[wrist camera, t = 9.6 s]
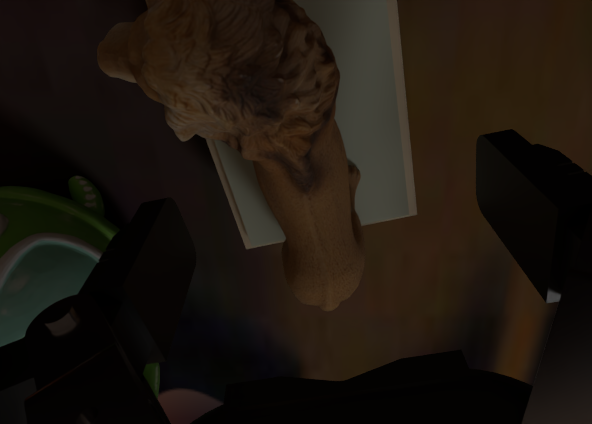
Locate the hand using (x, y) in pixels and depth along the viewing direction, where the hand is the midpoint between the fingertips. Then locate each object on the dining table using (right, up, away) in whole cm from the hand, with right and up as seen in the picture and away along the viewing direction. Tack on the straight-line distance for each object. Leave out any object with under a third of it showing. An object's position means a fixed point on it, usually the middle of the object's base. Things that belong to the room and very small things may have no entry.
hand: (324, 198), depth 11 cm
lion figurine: (-1, +3, +7) cm, 8 cm away
